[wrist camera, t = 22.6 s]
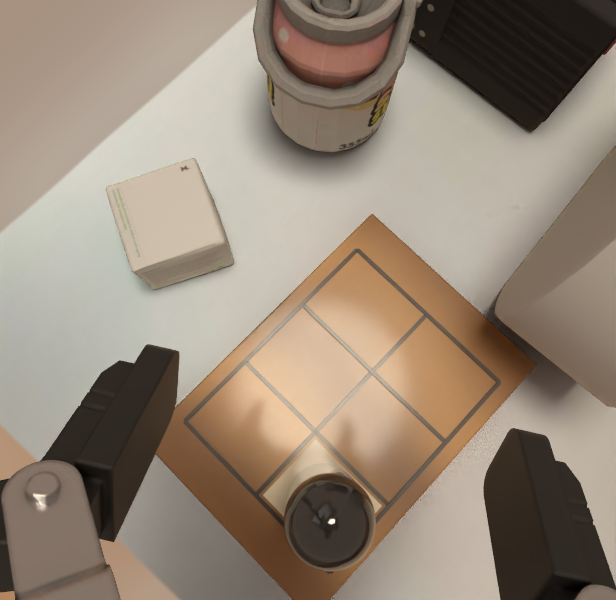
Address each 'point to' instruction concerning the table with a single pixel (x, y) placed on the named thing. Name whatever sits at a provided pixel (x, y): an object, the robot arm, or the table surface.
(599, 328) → the alarm clock
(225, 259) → the small box
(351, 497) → the ball
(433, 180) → the table surface
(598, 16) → the camera
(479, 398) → the board
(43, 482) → the robot arm
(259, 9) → the beverage can
